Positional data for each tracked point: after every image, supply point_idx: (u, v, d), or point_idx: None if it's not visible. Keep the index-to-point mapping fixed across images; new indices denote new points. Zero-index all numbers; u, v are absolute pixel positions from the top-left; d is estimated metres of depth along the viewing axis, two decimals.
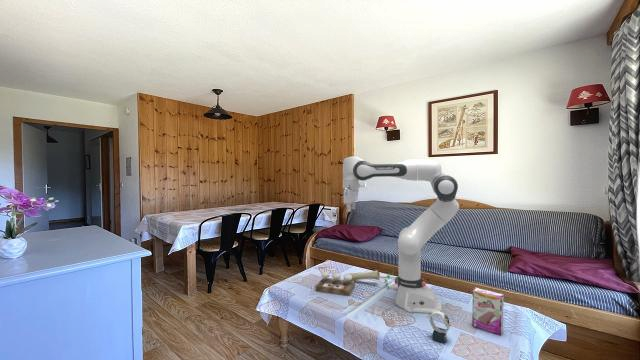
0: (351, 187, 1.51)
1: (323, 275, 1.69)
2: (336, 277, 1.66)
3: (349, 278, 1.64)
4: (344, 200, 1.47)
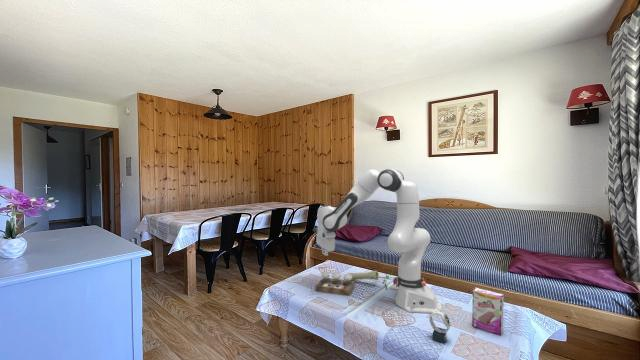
0: None
1: (323, 275, 1.69)
2: (336, 277, 1.66)
3: (349, 278, 1.64)
4: None
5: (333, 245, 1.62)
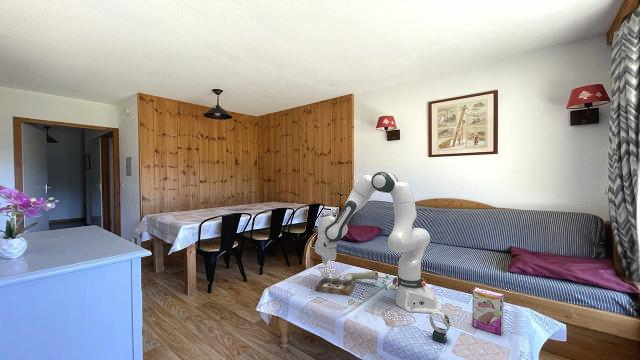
0: None
1: (323, 275, 1.69)
2: (336, 277, 1.66)
3: (349, 278, 1.64)
4: None
5: (334, 255, 1.63)
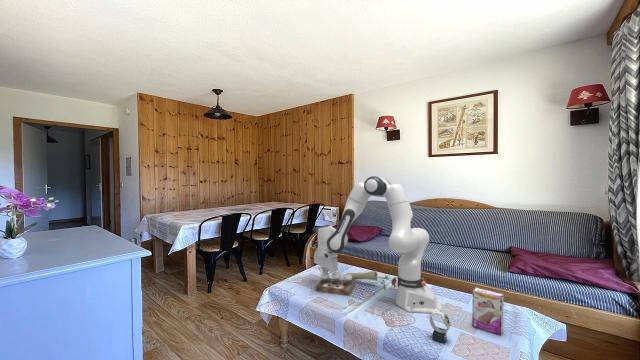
0: None
1: (323, 277, 1.69)
2: (336, 277, 1.66)
3: (349, 278, 1.64)
4: None
5: (336, 265, 1.63)
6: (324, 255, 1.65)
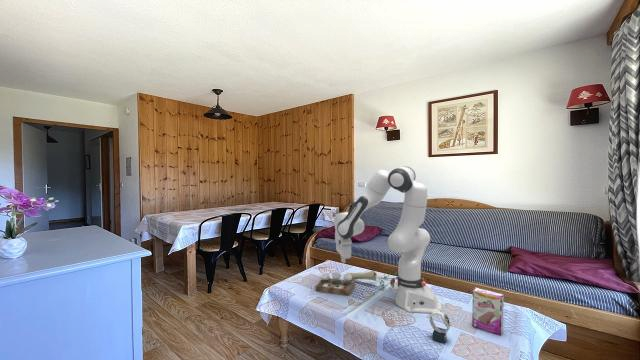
0: None
1: (323, 277, 1.69)
2: (336, 277, 1.66)
3: (349, 278, 1.64)
4: None
5: (349, 252, 1.57)
6: (338, 241, 1.62)
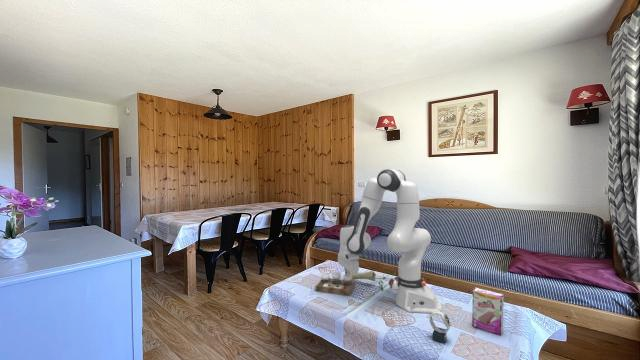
0: None
1: (323, 277, 1.69)
2: (336, 277, 1.66)
3: (349, 278, 1.64)
4: None
5: (357, 267, 1.57)
6: (345, 256, 1.61)
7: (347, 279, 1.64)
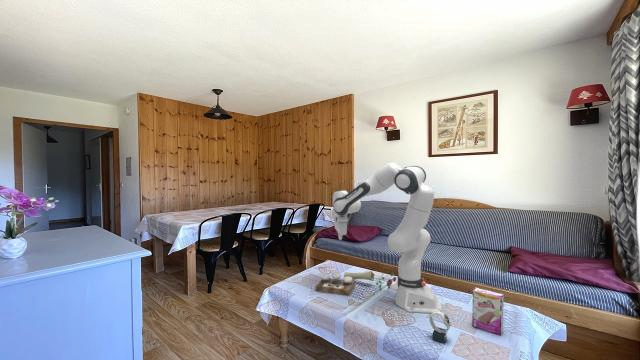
0: None
1: (323, 277, 1.69)
2: (336, 277, 1.66)
3: (349, 280, 1.64)
4: None
5: (344, 229, 1.62)
6: (335, 219, 1.67)
7: (347, 281, 1.64)
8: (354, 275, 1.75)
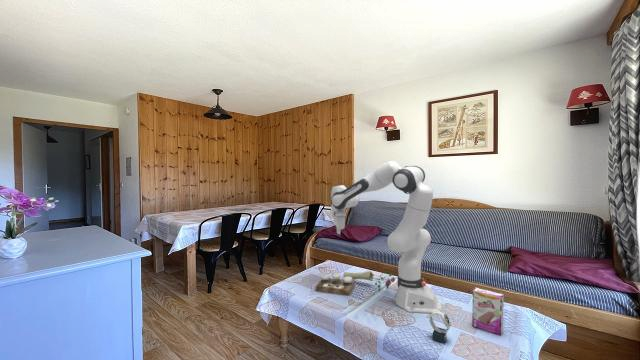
0: None
1: (323, 277, 1.69)
2: (336, 277, 1.66)
3: (349, 280, 1.64)
4: None
5: (343, 223, 1.64)
6: (333, 213, 1.69)
7: (347, 281, 1.64)
8: (353, 275, 1.75)
